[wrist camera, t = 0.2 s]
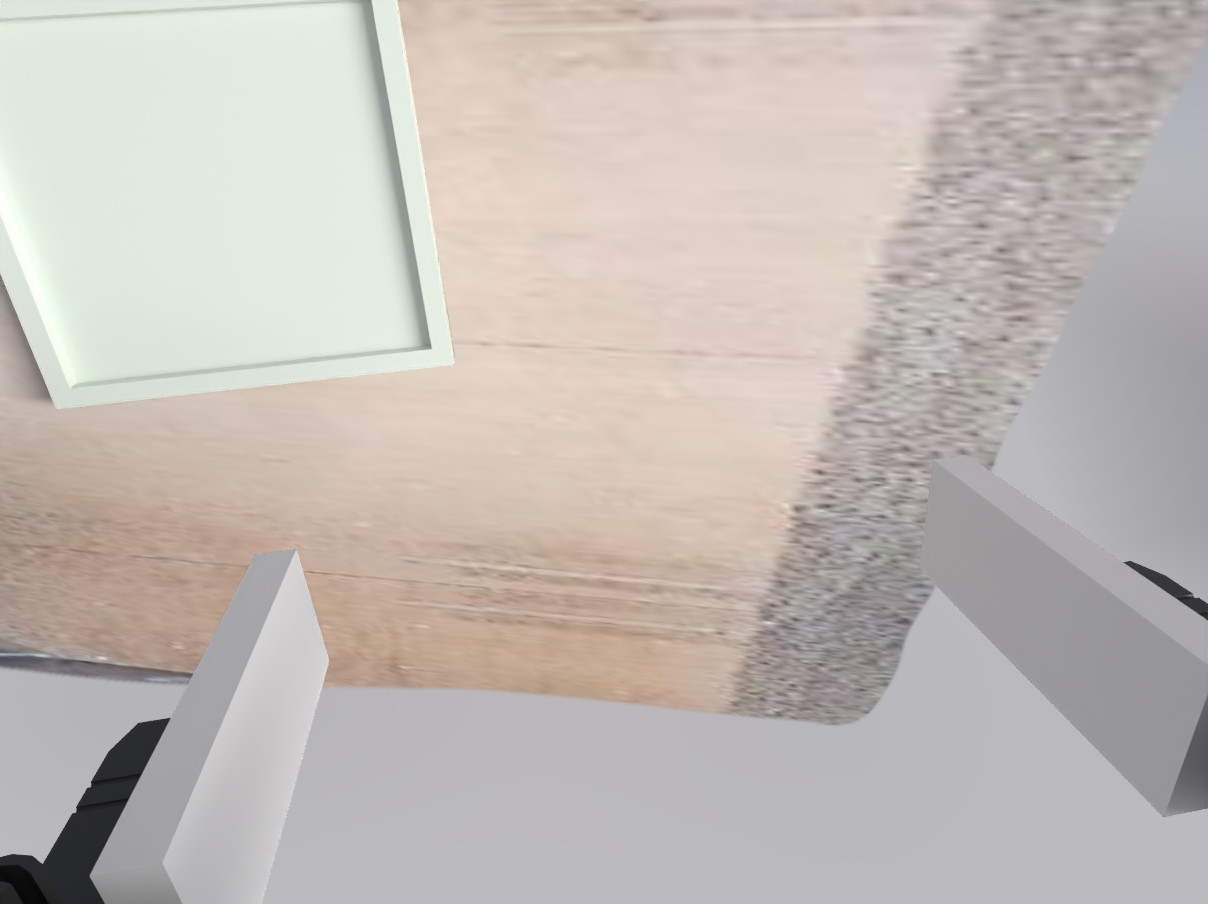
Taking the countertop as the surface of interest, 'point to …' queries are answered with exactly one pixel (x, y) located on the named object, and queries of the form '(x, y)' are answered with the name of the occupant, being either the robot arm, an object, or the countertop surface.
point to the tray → (214, 196)
